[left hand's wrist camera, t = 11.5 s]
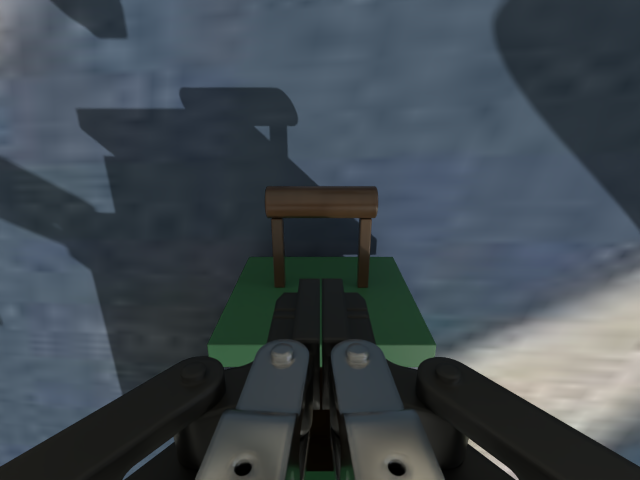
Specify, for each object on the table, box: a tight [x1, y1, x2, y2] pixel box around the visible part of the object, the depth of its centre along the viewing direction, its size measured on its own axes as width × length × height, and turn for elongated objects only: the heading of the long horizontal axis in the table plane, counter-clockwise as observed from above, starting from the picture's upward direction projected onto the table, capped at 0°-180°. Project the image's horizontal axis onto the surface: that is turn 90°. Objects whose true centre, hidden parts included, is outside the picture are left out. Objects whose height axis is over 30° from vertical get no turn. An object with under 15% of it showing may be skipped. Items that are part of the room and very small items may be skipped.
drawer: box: [207, 186, 436, 471], centre depth 21 cm, size 22×10×10 cm, turn 0°
